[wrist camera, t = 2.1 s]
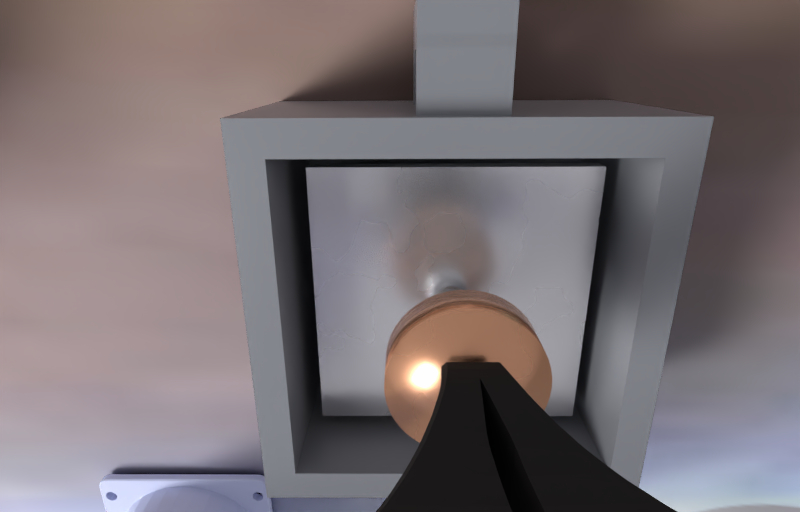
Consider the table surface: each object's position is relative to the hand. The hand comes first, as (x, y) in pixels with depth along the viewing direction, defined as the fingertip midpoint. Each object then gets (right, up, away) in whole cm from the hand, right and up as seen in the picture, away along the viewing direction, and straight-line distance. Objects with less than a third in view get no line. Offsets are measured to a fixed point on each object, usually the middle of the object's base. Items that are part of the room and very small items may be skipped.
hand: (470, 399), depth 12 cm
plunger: (0, +2, +5) cm, 6 cm away
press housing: (0, +5, +8) cm, 10 cm away
